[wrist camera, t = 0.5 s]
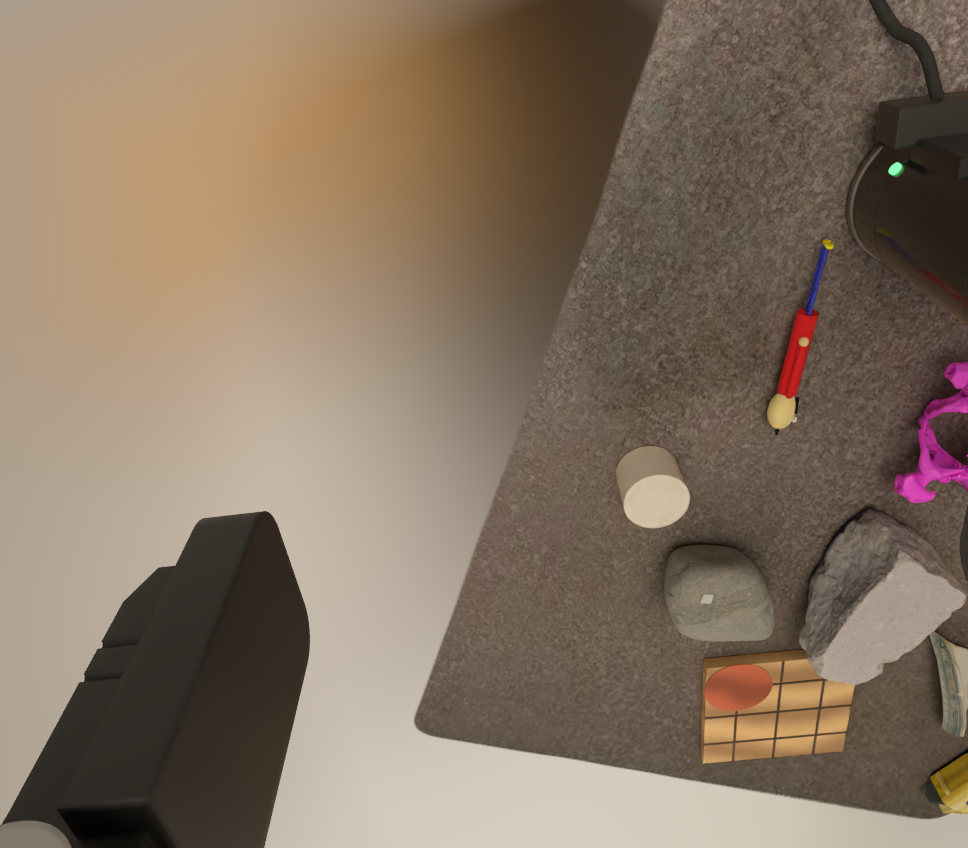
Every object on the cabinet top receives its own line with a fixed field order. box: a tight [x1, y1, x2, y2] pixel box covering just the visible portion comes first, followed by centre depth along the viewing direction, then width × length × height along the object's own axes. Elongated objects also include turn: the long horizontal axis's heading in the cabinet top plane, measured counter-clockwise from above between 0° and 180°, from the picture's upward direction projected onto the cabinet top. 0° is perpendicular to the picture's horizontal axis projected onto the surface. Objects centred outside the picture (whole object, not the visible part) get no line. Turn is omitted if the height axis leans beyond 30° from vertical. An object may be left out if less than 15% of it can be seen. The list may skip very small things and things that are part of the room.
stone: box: [664, 545, 775, 641], centre depth 66 cm, size 9×9×10 cm
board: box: [700, 649, 855, 763], centre depth 76 cm, size 14×14×1 cm
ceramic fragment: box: [930, 632, 968, 737], centre depth 73 cm, size 14×5×4 cm, turn 19°
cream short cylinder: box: [615, 446, 690, 528], centre depth 60 cm, size 5×5×4 cm
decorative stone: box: [799, 508, 967, 685], centre depth 65 cm, size 15×7×10 cm
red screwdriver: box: [767, 240, 834, 435], centre depth 55 cm, size 3×2×15 cm
